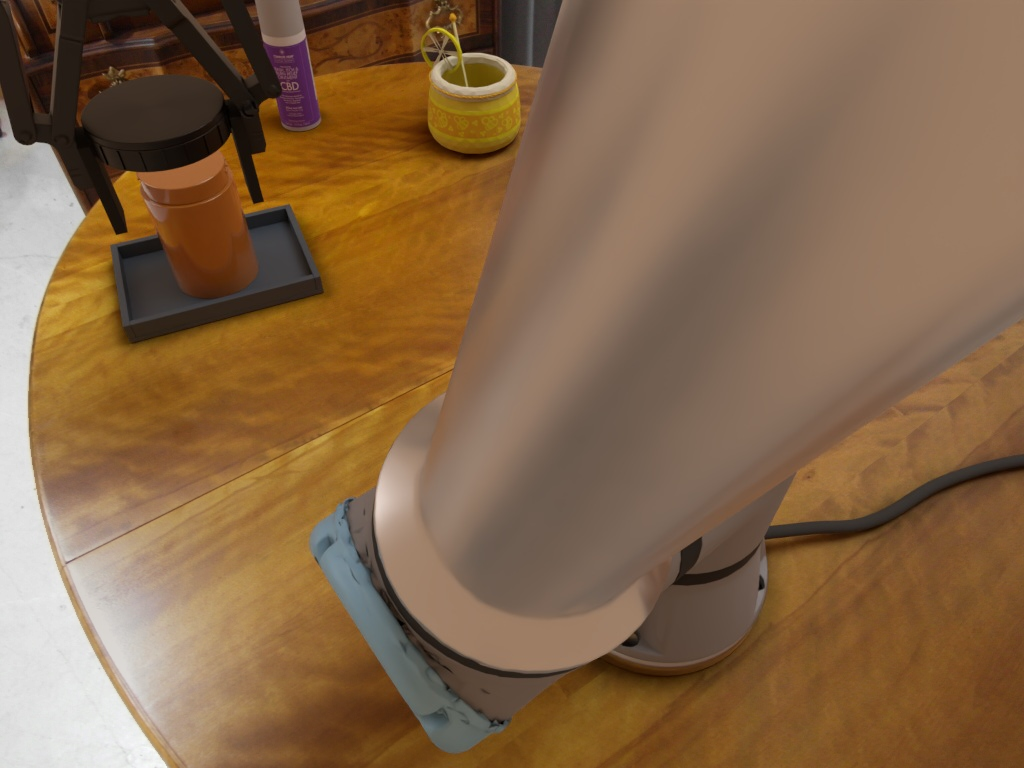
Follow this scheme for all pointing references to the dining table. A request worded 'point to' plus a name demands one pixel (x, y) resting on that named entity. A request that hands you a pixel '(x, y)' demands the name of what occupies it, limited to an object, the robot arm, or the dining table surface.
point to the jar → (201, 227)
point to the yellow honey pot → (471, 98)
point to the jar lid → (156, 123)
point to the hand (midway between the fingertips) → (188, 207)
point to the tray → (166, 308)
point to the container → (290, 62)
